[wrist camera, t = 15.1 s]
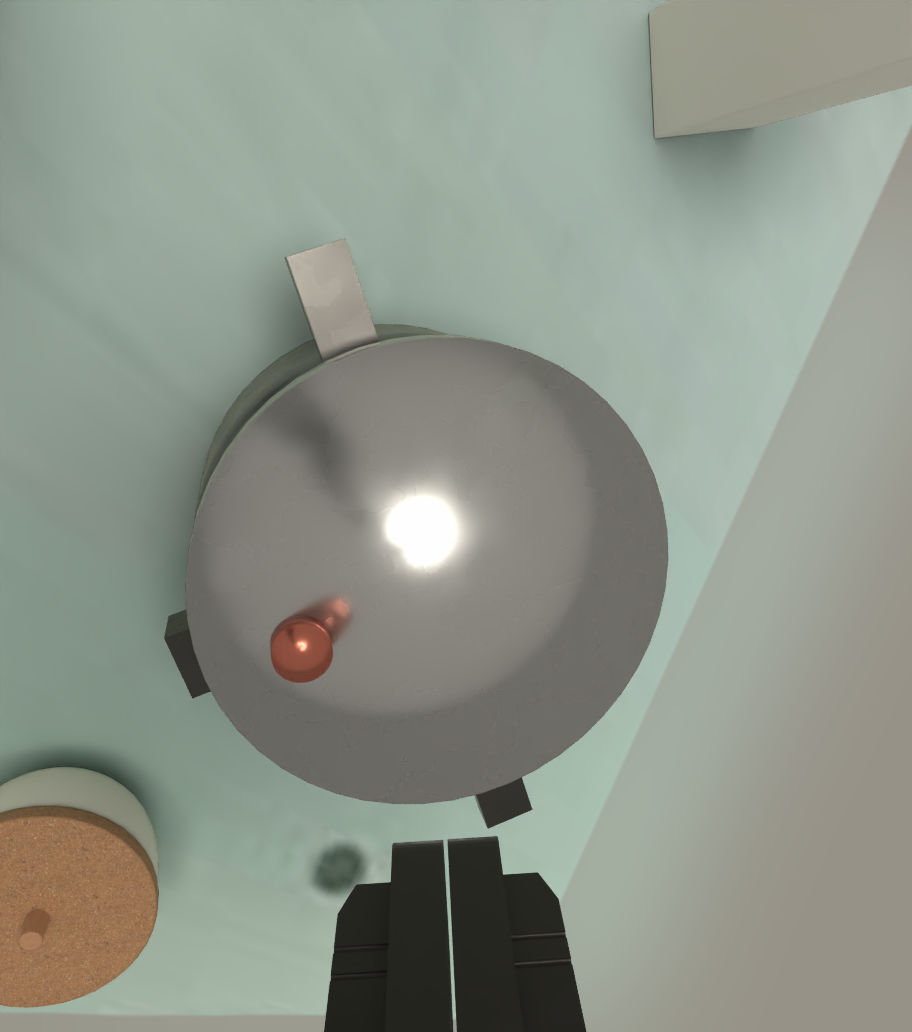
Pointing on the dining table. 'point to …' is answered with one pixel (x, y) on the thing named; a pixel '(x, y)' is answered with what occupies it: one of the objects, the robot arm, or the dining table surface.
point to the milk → (771, 59)
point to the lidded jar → (72, 884)
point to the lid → (425, 569)
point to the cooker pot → (335, 331)
